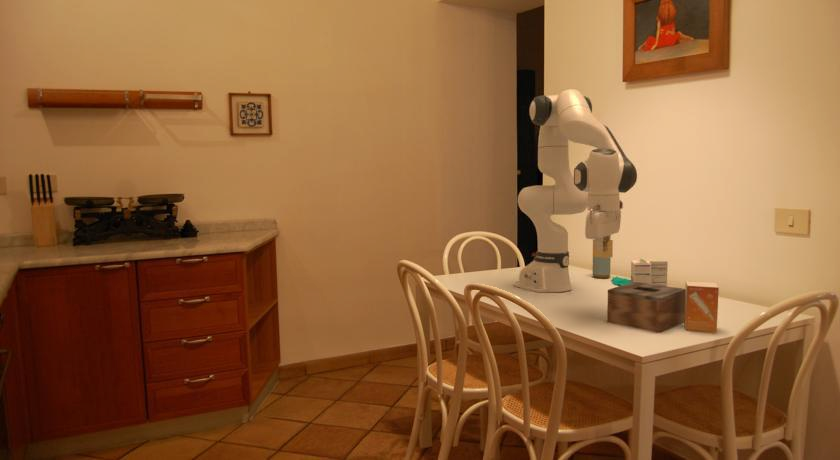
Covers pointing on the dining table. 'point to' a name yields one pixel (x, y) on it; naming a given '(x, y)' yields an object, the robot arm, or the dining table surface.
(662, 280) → the supplement box
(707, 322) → the small box
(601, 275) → the bottle
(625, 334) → the dining table surface
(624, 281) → the cloth
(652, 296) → the collection bin
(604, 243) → the upright wooden block
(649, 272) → the syrup box
